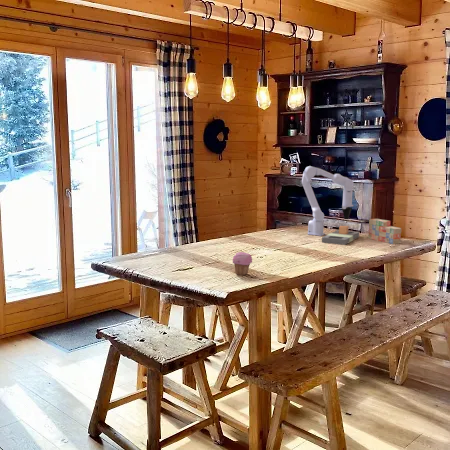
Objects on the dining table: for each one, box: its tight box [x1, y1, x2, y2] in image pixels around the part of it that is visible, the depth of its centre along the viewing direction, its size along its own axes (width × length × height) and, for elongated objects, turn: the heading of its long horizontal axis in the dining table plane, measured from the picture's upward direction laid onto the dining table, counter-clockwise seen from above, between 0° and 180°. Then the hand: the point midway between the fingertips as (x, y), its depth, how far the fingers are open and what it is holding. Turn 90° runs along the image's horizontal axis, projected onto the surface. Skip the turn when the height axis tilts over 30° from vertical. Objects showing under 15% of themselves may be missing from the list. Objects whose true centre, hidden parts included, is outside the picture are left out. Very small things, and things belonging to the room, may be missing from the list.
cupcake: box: [232, 251, 253, 276], centre depth 239 cm, size 9×9×10 cm
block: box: [338, 225, 349, 234], centre depth 332 cm, size 4×4×4 cm
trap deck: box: [321, 229, 360, 246], centre depth 329 cm, size 14×32×3 cm, turn 152°
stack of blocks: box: [368, 218, 402, 245], centre depth 327 cm, size 21×6×12 cm, turn 27°
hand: (346, 219), depth 343 cm, fingers closed
